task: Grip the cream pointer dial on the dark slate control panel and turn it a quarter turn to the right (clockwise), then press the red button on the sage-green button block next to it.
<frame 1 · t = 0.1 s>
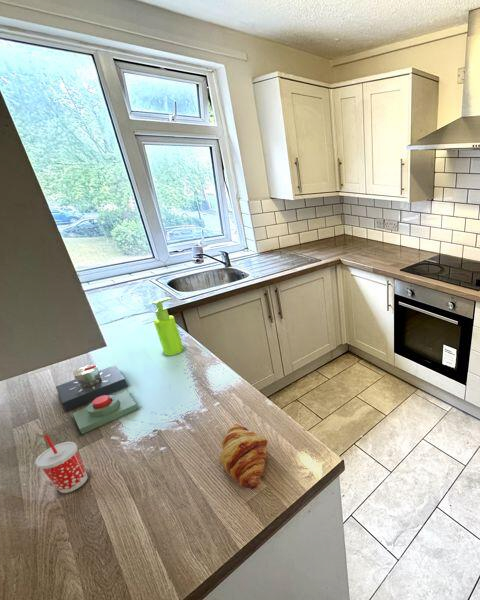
hand: (69, 311, 92), 25 cm above the countertop, tool pointing down, fingers open, 9 cm apart
button: (101, 401, 89), point 4 cm above the countertop, slide at 0.1 cm
croissant: (246, 459, 77), on the countertop
dial panel: (94, 390, 99), on the countertop
button block: (107, 413, 90), on the countertop
dial: (87, 375, 97), point 5 cm above the countertop, hinge at 0.0°
soap dispenser: (175, 350, 120), on the countertop
beverage cup: (74, 483, 71), on the countertop
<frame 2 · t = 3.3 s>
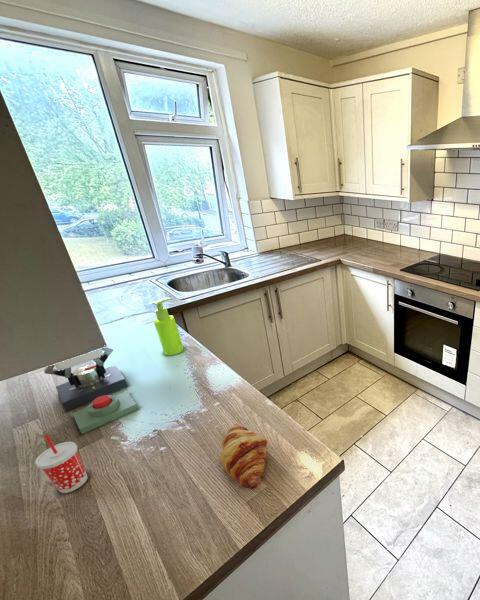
hand: (89, 380, 98), 4 cm above the countertop, tool pointing down, fingers closed on dial, 5 cm apart
dial: (87, 375, 97), point 5 cm above the countertop, hinge at 0.0°, touching gripper
everything else where it was.
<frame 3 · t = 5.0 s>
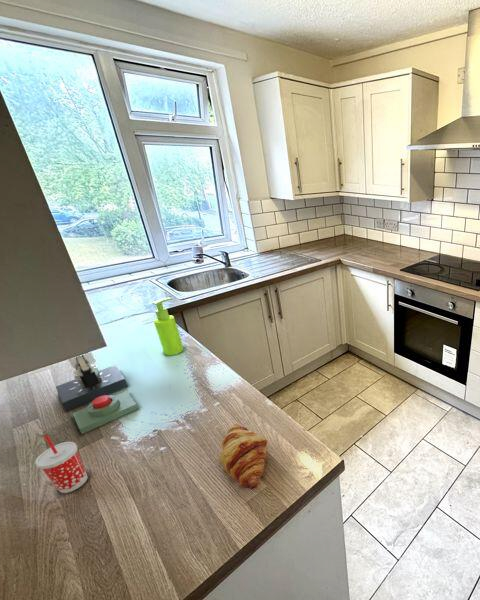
hand: (89, 380, 98), 4 cm above the countertop, tool pointing down, fingers closed on dial, 5 cm apart
dial: (87, 375, 97), point 5 cm above the countertop, hinge at -90.8°, touching gripper
everything else where it was.
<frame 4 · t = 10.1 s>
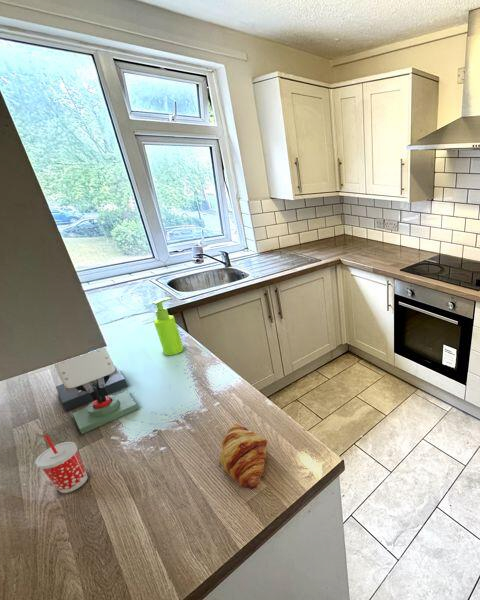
hand: (101, 399, 89), 5 cm above the countertop, tool pointing down, fingers closed
button: (102, 402, 89), point 4 cm above the countertop, slide at -0.1 cm, touching gripper
dial: (87, 375, 97), point 5 cm above the countertop, hinge at -91.7°
everything else where it was.
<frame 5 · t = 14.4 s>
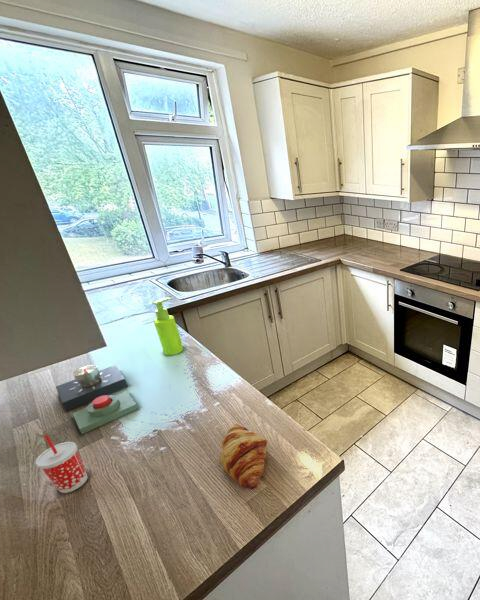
button: (101, 401, 89), point 4 cm above the countertop, slide at 0.1 cm
everything else where it was.
at the end: dial at -92° (first picture: +0°); button pushed in 1.1 cm at the most during the clip, back to where it started at the end; button slide at 0.1 cm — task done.
